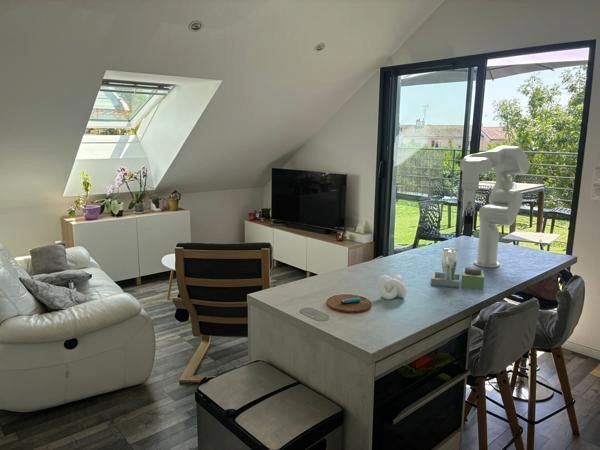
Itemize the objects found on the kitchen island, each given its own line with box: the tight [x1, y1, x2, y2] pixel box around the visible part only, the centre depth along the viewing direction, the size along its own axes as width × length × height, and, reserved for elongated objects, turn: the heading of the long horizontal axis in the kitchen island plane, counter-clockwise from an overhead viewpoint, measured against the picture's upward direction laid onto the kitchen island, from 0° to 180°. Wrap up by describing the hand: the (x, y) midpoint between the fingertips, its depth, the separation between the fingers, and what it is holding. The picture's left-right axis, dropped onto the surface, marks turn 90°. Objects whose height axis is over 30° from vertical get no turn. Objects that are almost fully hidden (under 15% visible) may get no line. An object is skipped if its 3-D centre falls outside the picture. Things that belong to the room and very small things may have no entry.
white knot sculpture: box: [377, 274, 408, 300], centre depth 196 cm, size 11×12×9 cm
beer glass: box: [441, 247, 459, 280], centre depth 215 cm, size 7×7×15 cm
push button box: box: [431, 266, 485, 291], centre depth 214 cm, size 12×22×8 cm, turn 71°
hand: (468, 221), depth 223 cm, fingers open, 9 cm apart
